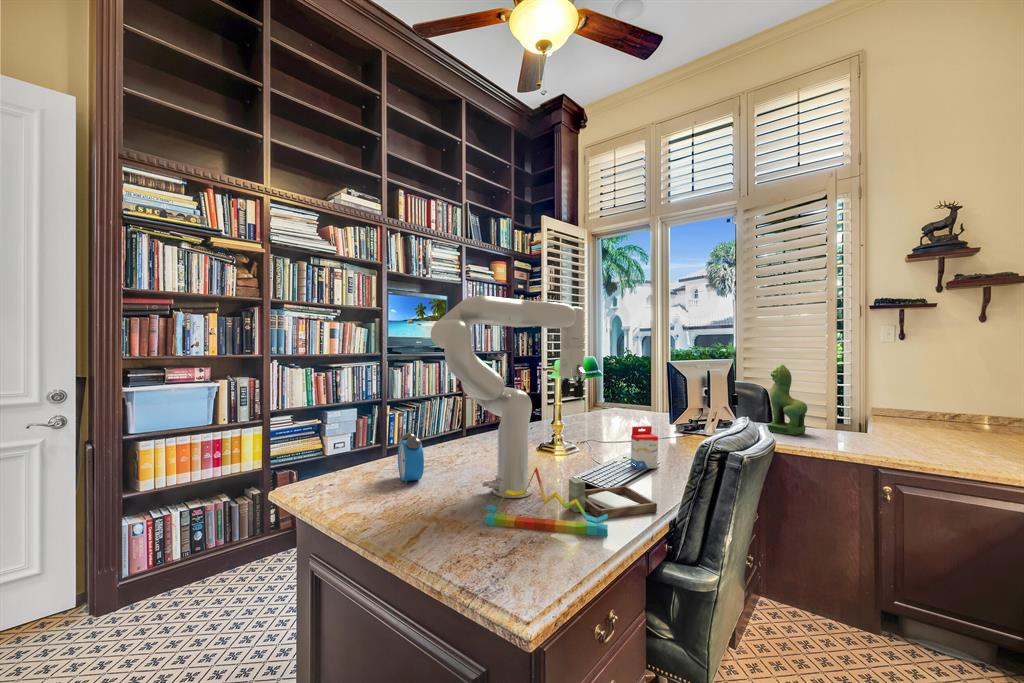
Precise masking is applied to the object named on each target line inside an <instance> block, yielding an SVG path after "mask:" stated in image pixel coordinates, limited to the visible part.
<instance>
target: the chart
mask: <svg viewBox="0 0 1024 683" xmlns="http://www.w3.org/2000/svg"><path fill="white" fill-rule="evenodd" d="M534 475H536V479H537V482H538V486H539V489H540V492H541V493H540V494H541V496H542V500H543V504H544V505H546V504H547V503H549V502H550V501H551V500H553V499H554V498H555V499H557V501H558V502H559V503H560V504H561V505H562V507H563V508H564V509H565V510H566V509H568V508H569V507H570V506H572V505H574V504H576V505H577V506H578V508H579V510H580V511H581V512H580V513H581V514H582V516H583V518H584V519H585V521H586V522H585V521H584V522H583V521H574V520H572V521H571V520H563V519H554V518H553V519H552V518H542V517H541V518H540V517H530V516H520V515H518V516H517V515H509V514H498V513H496V512H497V510H498V509H499V507H500V505H501V503H502V501H503V500H504V498H505V497H504V496H505V494H506V495H510V496H514V497H516V496H520V495H523V494H525V493H526V491H527V489H528V487H527V489H526V490H522V491H518V492H516V491H512V490H508V489H507V491H506V492H505V494H504V496H503V497H501V500H500V501H499V503H498V505H497V506H495V505H490V504H487V505H486V506H485V508H484V510H485V511H489V512H492V513H489V512H488V513H487V515H486V516H485V517H484V518H485V519H484V520H485V521H484V524H485V525H490V526H499V527H500V526H501V527H511V528H519V529H531V530H538V531H539V530H540V531H550V532H560V533H570V534H578V535H579V534H580V535H591V536H593V535H594V536H601V537H608V534H609V533H608V532H609V529H608V528H609V526H608V524H607V523H606V524H605V523H601V522H604V521H607V520H608V519H609V518H608V514H605V515H603V516H601V517H598V518H597V517H596V516H595V517H594V516H592V515H588V514H587V512H586V511H584V510H583V508H582V506H581V505H580V503H579V502H578V500H576V499H575V500H573V501H571V502H569V501H568V502H566V501H565V499H563V498H562V496H560V494H559V493H558V492H557V491H556V492H554V493H553V494H551V495H550V496H549V497H547V498H546V494H545V490H544V487H543V482H542V480H541V476H540V473H539V470H538V467H535V469H534V472H533V474H532V476H531V478H530V480H529V481H528V486H529V485H531V482H532V479H533V477H534Z"/></svg>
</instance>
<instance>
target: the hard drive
mask: <svg viewBox="0 0 1024 683" xmlns="http://www.w3.org/2000/svg"><path fill="white" fill-rule="evenodd" d="M587 500H589V501H590V502H591V503H593V504H594V505H597V506H600V507H602V508H603V509H607V508H615V507H623V506H632V505H640V503H639V502H637V501H635V500H631V499H628V498H626V497H623V496H621V495H616V494H614V493H611V492H608V491H604V492H600V493H596V494H593V495H589V496H588V498H587Z"/></svg>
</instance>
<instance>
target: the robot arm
mask: <svg viewBox="0 0 1024 683" xmlns="http://www.w3.org/2000/svg"><path fill="white" fill-rule="evenodd" d="M474 325H488V326H489V325H490V326H500V327H502V326H503V327H512V328H528V327H529V328H530V327H542V328H545V329H554V330H555V329H560V353H559V370H558V375H559V377H560V382H561V383H560V384H561V385H560V393H561V394H562V395H570V394H571V381H570V380H571V379H572V380H573V382H574V384H573V398H575V399H576V398H578V399H579V398H581V399H582V398H583V397H584V386H585V380H586V371H585V359H584V349H585V348H584V347H585V346H584V345H585V338H584V337H585V311H584V309H583V307H580V306H571V305H570V304H567V303H561V302H551V301H542V300H541V301H539V300H530V299H528V300H527V299H518V298H517V299H516V298H508V297H500V296H492V295H484V294H483V295H475V296H469V297H466V298H464V299H463V300H462V301H460V302H458V304H456V305H455V306H454V307H453V308H451V309H450V310H449V311H448V312H447V313H445V314H444V315H443V316H442V317H441V318H439V319H438V320H437V321H436V322H435V323H434V324H433V326H432V328H431V330H430V338H431V342H432V343H433V344H434V345H435V346H437V348H441V349H444V358H445V359H444V360H445V363H446V367H447V368H448V370H449V371H450V373H451V374H452V375H453V376H454V377H455V378H457V379H458V380H459V381H460V382H461V384H460V385H461V388H462V391H463V392H464V394H466V396H468V398H470V399H472V400H473V401H475V403H477V404H478V405H479V406H481V407H482V408H484V409H485V410H486V411H488V412H489V413H491V414H493V415H495V416H497V417H500V422H499V425H498V428H497V429H498V430H497V467H496V468H497V474H496V475H494V477H493V478H491V479H483V480H482V479H481V486H482V487H483V488H484V487H485V488H488V489H492V490H491V491H492V493H493V494H494V495H496V496H498V497H501V498H503V496H504V494H505V492H506V491H507V489H508V490H512V491H516V492H518V491H522V490H526V489H527V487H528V489H527V491H526V493H525V494H523V495H520V496H516V497H514V496H510V495H506V494H505V496H504V498H506V499H521V498H526V497H529V496H531V495H532V494H533V492H534V487H533V486H532V485H531V484H529V443H530V442H529V439H530V438H529V433H530V423H531V422H530V421H531V416H532V411H533V403H532V400H531V397H530V396H529V395H528V393H526V391H523V390H522V389H519V388H513V387H507V386H505V385H506V384H505V381H504V379H503V377H502V376H501V375H500V374H499V373H498V371H495V370H494V369H493V368H491V367H490V366H489V365H488V364H487V363H485V362H484V361H483V360H482V359H481V358H480V357H479V356H478V355H476V354H475V351H474V350H473V342H472V341H473V334H472V332H473V331H472V329H471V328H472V327H474ZM528 484H529V486H528Z"/></svg>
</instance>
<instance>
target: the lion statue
mask: <svg viewBox="0 0 1024 683" xmlns="http://www.w3.org/2000/svg"><path fill="white" fill-rule="evenodd" d="M770 377H772V378H771V380H772V381H774V384H773V385H772V386H771V388H770V391H769V396H770V397H769V399H770V402H771V407H772V416H773V417H772V418H773V420H772V421H771V422H770V423H767V424H766V427H767V431H768V430H769V431H771V432H770V433H775V434H780V435H785V436H786V435H787V436H799V435H802V434H803V435H804V434H805V433H806V425H805V419H806V414H807V413H808V406H807V403H805V402H804V401H803V400H801V399H796V398H793V397H792V396H791V395H790V389H791V386H792V380H793V379H792V374H791V371H790V370H789V368H787V367H786V365H785V364H780V365H778V366H776V367H775V368H774V369H773V371H771V372H770ZM785 415H786V416H787V417H788V418H789V422H786V419H785V418H786V416H785ZM769 431H768V432H769Z"/></svg>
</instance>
